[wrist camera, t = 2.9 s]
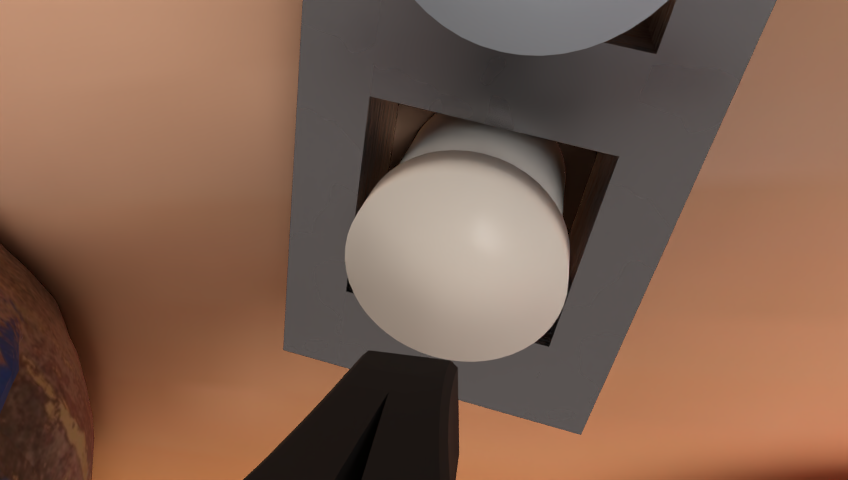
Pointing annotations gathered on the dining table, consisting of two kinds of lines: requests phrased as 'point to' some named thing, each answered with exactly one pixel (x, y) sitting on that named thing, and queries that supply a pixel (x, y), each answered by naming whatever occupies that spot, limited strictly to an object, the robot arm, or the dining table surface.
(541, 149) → the cream button
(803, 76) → the dining table surface
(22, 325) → the bowl
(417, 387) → the robot arm
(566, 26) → the slate button
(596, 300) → the panel
